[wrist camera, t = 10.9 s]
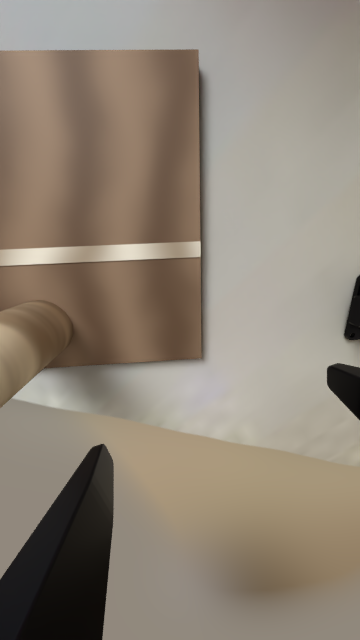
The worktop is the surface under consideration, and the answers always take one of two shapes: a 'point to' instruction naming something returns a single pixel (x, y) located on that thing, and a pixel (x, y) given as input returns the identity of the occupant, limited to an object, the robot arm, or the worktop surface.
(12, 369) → the wooden pin
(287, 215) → the worktop surface
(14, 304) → the walnut board
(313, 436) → the worktop surface
